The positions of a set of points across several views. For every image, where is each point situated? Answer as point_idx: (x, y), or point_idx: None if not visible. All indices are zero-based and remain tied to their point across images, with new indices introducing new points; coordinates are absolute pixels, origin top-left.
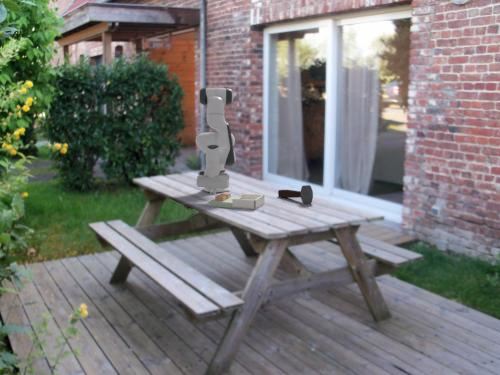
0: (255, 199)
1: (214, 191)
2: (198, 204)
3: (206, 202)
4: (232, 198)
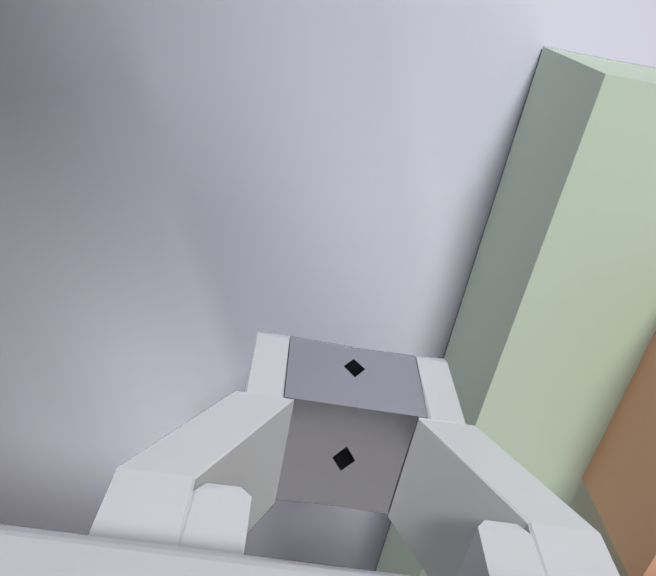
0: None
1: (427, 552)
2: None
3: (189, 354)
4: None
